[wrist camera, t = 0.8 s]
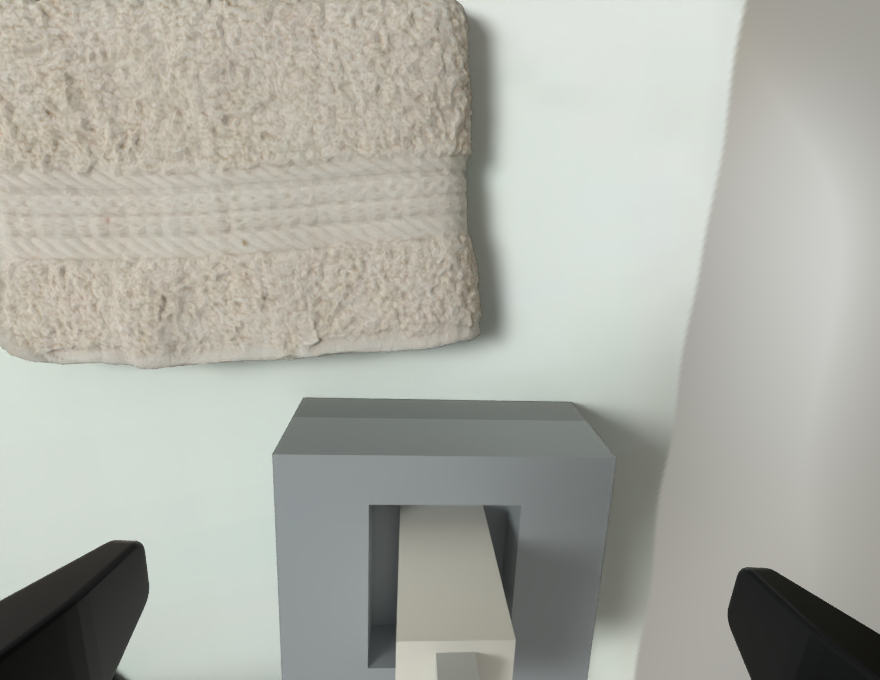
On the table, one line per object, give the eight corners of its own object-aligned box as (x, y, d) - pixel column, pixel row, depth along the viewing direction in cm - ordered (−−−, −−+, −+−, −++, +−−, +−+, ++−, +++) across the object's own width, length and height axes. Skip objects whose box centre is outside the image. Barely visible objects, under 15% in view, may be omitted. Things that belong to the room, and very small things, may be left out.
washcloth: (-62, 20, 18) (-157, -16, 15) (467, 1, 19) (477, -38, 16) (24, 358, 21) (-40, 384, 18) (477, 329, 22) (488, 350, 19)
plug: (475, 603, 21) (508, 808, 14) (398, 604, 21) (392, 813, 14) (481, 500, 20) (522, 667, 13) (400, 500, 19) (395, 669, 12)
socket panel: (532, 771, 27) (558, 894, 22) (313, 777, 26) (291, 906, 22) (571, 401, 22) (616, 457, 17) (303, 397, 21) (272, 454, 17)
